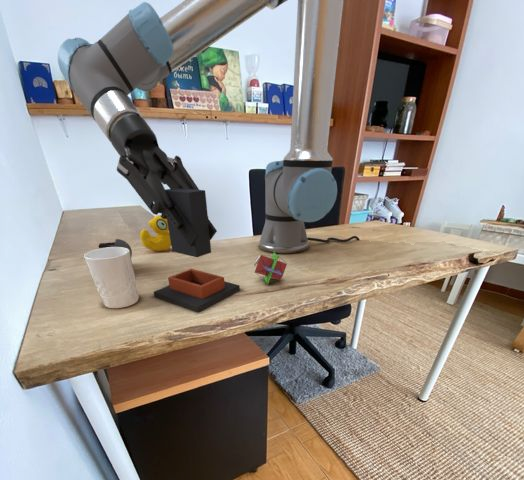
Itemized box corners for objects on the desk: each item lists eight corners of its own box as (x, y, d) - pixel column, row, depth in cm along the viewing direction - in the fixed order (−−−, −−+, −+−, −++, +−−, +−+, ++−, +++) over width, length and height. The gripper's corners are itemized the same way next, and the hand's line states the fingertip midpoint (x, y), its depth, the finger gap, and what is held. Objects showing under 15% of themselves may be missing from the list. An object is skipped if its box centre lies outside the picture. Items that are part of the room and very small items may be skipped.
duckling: (180, 246, 95) (175, 212, 89) (182, 250, 91) (177, 216, 85) (143, 249, 92) (135, 215, 86) (144, 254, 88) (135, 218, 82)
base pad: (198, 278, 71) (196, 263, 69) (240, 290, 65) (239, 274, 63) (154, 296, 62) (150, 280, 60) (198, 312, 56) (195, 294, 54)
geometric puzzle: (288, 266, 72) (269, 240, 68) (297, 275, 66) (277, 248, 62) (265, 284, 73) (245, 260, 69) (272, 295, 68) (251, 270, 63)
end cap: (134, 275, 73) (127, 247, 69) (103, 278, 71) (94, 250, 68) (135, 263, 81) (128, 237, 77) (107, 266, 79) (99, 240, 75)
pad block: (186, 247, 62) (178, 187, 55) (211, 252, 58) (205, 190, 52) (172, 251, 59) (161, 189, 53) (197, 257, 56) (188, 192, 49)
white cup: (100, 313, 56) (82, 261, 51) (101, 297, 62) (84, 249, 57) (143, 305, 59) (130, 255, 53) (140, 291, 65) (128, 245, 59)
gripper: (158, 149, 62) (224, 241, 64) (78, 149, 50) (161, 261, 52) (171, 116, 57) (242, 217, 58) (84, 107, 45) (176, 234, 47)
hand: (203, 238), depth 55 cm, fingers closed on pad block, 4 cm apart
